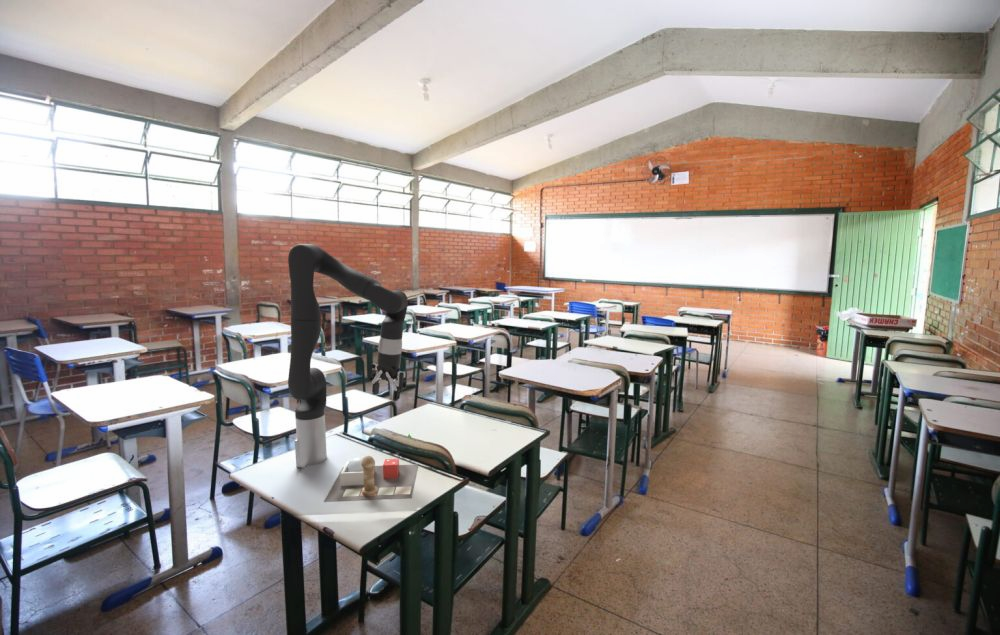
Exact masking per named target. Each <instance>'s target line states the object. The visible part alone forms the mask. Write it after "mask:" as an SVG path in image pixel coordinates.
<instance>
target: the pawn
mask: <svg viewBox="0 0 1000 635" xmlns="http://www.w3.org/2000/svg"><path fill="white" fill-rule="evenodd" d="M362 458H363V459H362V461H361V465H362V467H363V477H364V488H363V489H362V494H363V495H372V494H375V493H376V492H377V487H376V486H375V485H374V468H373V466H374V463H375V464H376V460H375V459H374V457H373V456H370V455H366V456H364V457H362ZM374 460H375V461H374Z"/></svg>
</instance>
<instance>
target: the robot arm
mask: <svg viewBox="0 0 1000 635" xmlns="http://www.w3.org/2000/svg"><path fill="white" fill-rule="evenodd" d="M287 257H288V258H287V259H288V260H287V264H288V272H289V280H290V312H291V313H290V333H291V334H290V337H291V338H290V361H289V369H288V371H289V372H288V379H287V386H288V391H289V394H290V395H291V397H293V399H294V400H297V401H301V402H300V403H299V405H297V407H296V408H295V410H294V411H295V412H294V418H295V429H296V430H295V431H296V438H295V440H294V449H295V450H294V451H295V452H294V453H295V465H296V468H300V469H305V466H314V465H315V466H316V465H318V464H321V463H323V462H325V461H326V460H327V459H328V455H327V437H326V436H327V435H326V433H327V432H326V419H325V418H326V415H325V409H326V406H327V380H326V376H325V374H324V372H323V371H322V370H321V369H320V368H317V367H311V361H312V356H313V353H314V351H315V349H316V347H317V344H318V341H319V339H320V337H321V331H322V313H321V307H320V305H319V302H318V299H317V296H316V294H315V289H314V288H315V287H314V277H315V273H316V274H317V273H318V274H321V275H324V276H327V277H329V278H331V279H333V280H335V281H336V282H337V283H339V284H340V285H341V286H343V287H344V288H345V289H346V290H348V291H349V292H351V293H352V294H354V295H356V296H358V297H360V298H363V299H365V300H366V301H369V302H370V303H371V304H373V305H374V306H375V307H377V308H378V309H380V311H381V310H382V311H383V312H385V316H384V319H383V320H382V322H381V326H380V335H379V336H380V337H379V341H378V347H377V348H378V350H377V358H376V359H377V360H376V362H373V363H370V364H369V369H368V374H367V375H368V376H367V380H368V381H369V382H371V383H372V389H371V391H372V395H374V396H375V395H376V396H377V395H379V393H380V385H381V384H380V381H381V380H382V381H386V382H389V384H390V385H391V386H392V388H393V392H392V393H393V395H392V401H394V402H397V401H399V400H400V398H401V391H402V390H406V389H407V381H408V380H407V378H408V372H407V371H406V370H404V371H401V370H400V365H401V361H402V360H401V359H402V350H403V333H404V332H403V331H404V323H405V319H406V315H407V311H408V310H407V309H408V303H409V302H408V301H409V300H408V297H407V295H406V293H405V292H404V291H403V290H399V289H394V290H390V289H389V288H386V287H385V286H383V285H382V284H381V283H380V282H379V281H378V280H376V279H374V278H372V277H371V276H369V275H366V274H364V273H362V272H360V271H358V270H356V269H354V268H352V267H350V266H348V265H347V264H345V263H343V262H341V261H340V260H338V259H337V258H335V257H334V256H332V255H331V254H330V253H328V252H326V250H325V249H323V248H322V247H320V246H318V245H316V244H314V243H313V244H312V243H298V244H295V245H293V246H292V247H291V249H290V251H289V252H288V256H287Z"/></svg>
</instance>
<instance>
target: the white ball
mask: <svg viewBox="0 0 1000 635" xmlns="http://www.w3.org/2000/svg"><path fill="white" fill-rule="evenodd" d="M363 458H364V457H361V456H357V457H353V459H351V460H349V461H350V463H349V465H348V472H363V467H362V465H361V461H362V459H363Z"/></svg>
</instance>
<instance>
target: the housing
mask: <svg viewBox="0 0 1000 635" xmlns="http://www.w3.org/2000/svg"><path fill="white" fill-rule="evenodd" d="M350 461H351V460H347V461H346V462H345V465H344V466H343V467H344V468H343V467H342V468H343V470H342V469H341V470H342V472H341V471H340V472H341V473H340V472H339V473H340V475H341V486H349V485H364V477H363V472H348V465H349V463H350ZM374 461H375V463H374V466H373V468H374V474H375V466H376V459H374Z"/></svg>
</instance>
